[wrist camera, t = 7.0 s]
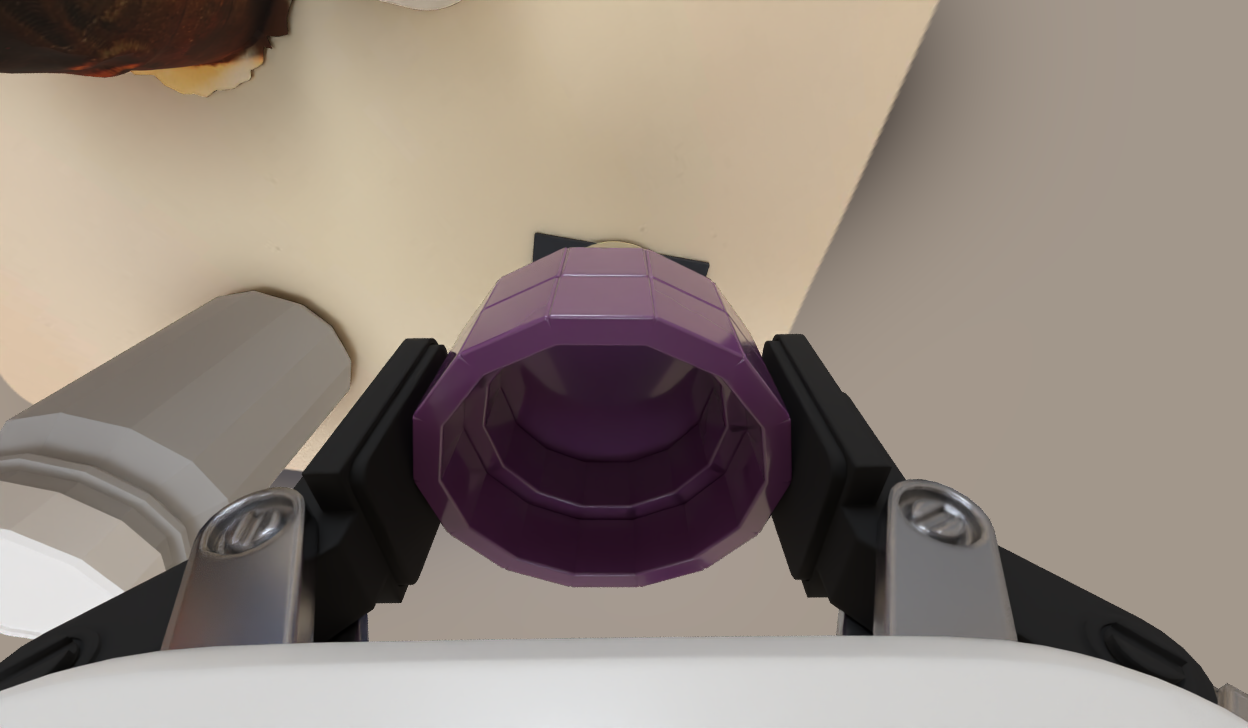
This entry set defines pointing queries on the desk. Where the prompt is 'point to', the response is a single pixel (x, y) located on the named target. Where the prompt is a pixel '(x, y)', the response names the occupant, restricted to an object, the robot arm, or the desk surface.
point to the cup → (423, 3)
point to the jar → (155, 451)
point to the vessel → (142, 39)
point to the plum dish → (603, 423)
